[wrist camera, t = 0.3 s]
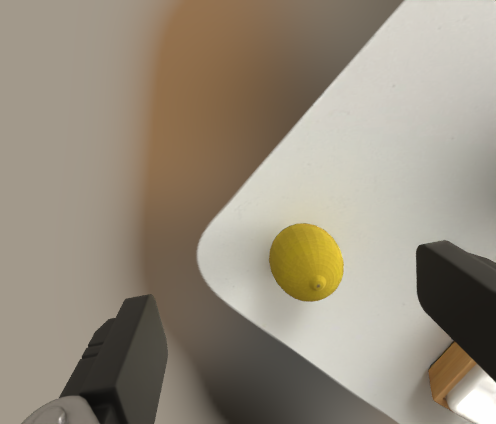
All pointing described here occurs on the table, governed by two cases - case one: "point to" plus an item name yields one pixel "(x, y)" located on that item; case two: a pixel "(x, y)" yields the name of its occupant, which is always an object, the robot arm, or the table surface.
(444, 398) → the soap dish
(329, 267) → the lemon
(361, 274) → the table surface
